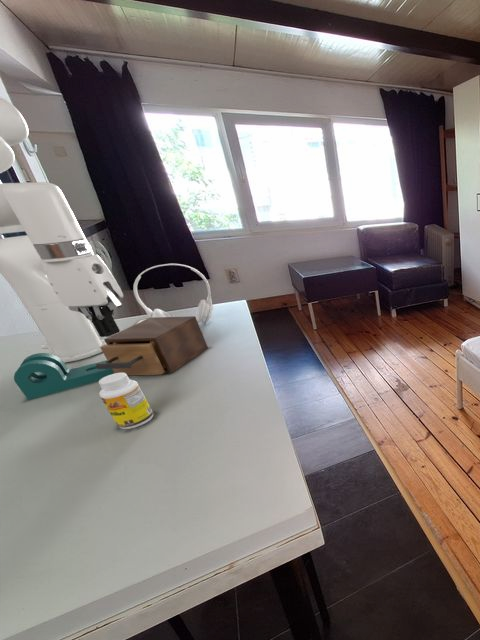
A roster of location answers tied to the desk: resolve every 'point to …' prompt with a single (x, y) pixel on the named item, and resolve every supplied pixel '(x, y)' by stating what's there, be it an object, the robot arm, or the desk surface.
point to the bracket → (54, 375)
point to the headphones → (201, 316)
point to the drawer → (133, 358)
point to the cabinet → (167, 338)
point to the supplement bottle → (125, 401)
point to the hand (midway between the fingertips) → (110, 334)
